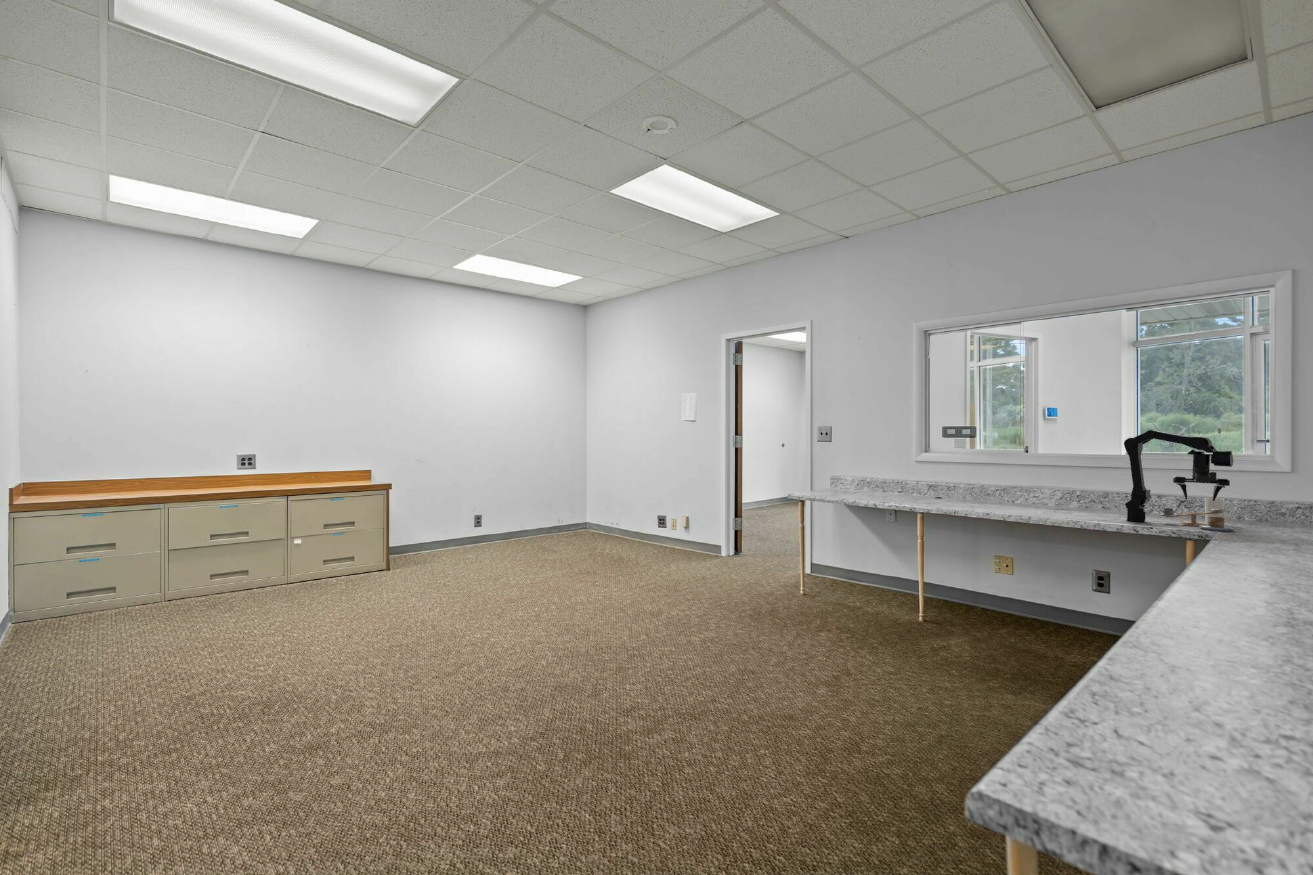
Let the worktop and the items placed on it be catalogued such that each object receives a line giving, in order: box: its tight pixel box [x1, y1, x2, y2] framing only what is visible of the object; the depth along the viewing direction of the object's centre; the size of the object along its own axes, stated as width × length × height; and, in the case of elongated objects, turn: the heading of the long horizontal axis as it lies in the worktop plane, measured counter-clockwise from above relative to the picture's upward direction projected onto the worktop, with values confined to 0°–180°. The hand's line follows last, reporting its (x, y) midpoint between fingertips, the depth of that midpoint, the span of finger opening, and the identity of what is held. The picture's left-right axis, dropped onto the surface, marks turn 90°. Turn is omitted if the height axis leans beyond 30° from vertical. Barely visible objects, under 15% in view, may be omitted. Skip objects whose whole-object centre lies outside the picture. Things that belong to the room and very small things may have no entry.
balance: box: [1159, 506, 1230, 527], centre depth 286 cm, size 24×6×8 cm, turn 57°
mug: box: [1204, 497, 1235, 525], centre depth 287 cm, size 10×7×12 cm, turn 54°
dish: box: [1199, 524, 1235, 532], centre depth 273 cm, size 11×11×1 cm
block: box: [1207, 516, 1225, 528], centre depth 273 cm, size 4×4×4 cm
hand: (1199, 500), depth 280 cm, fingers open, 9 cm apart
